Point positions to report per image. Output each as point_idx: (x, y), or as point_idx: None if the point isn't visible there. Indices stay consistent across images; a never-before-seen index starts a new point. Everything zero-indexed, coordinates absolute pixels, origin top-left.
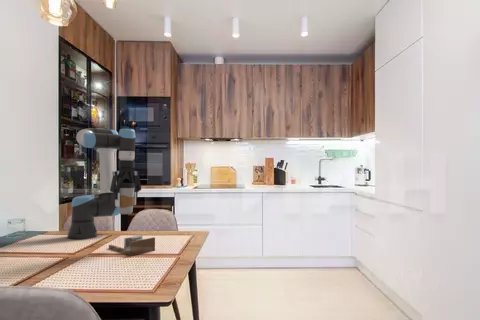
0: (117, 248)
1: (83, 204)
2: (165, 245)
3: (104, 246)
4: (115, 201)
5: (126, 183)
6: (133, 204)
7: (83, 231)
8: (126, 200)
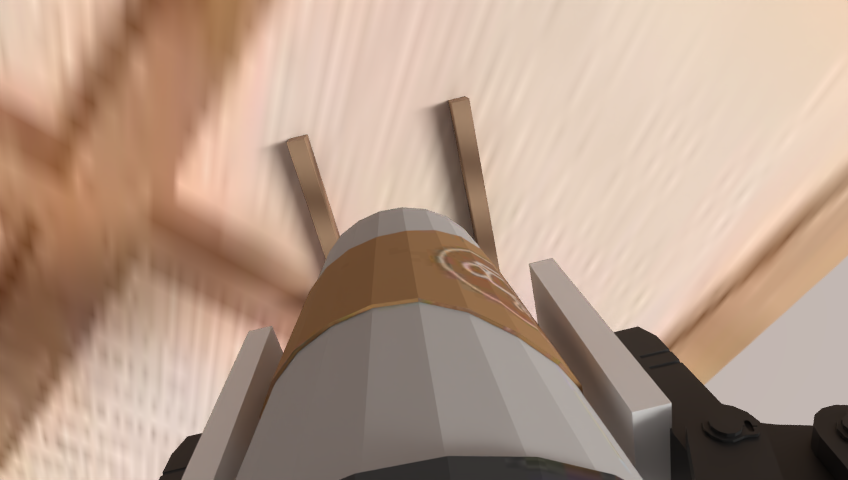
0: (323, 248)
1: None
2: (615, 259)
3: (273, 54)
4: (229, 385)
5: None
6: (537, 311)
7: None
8: None
